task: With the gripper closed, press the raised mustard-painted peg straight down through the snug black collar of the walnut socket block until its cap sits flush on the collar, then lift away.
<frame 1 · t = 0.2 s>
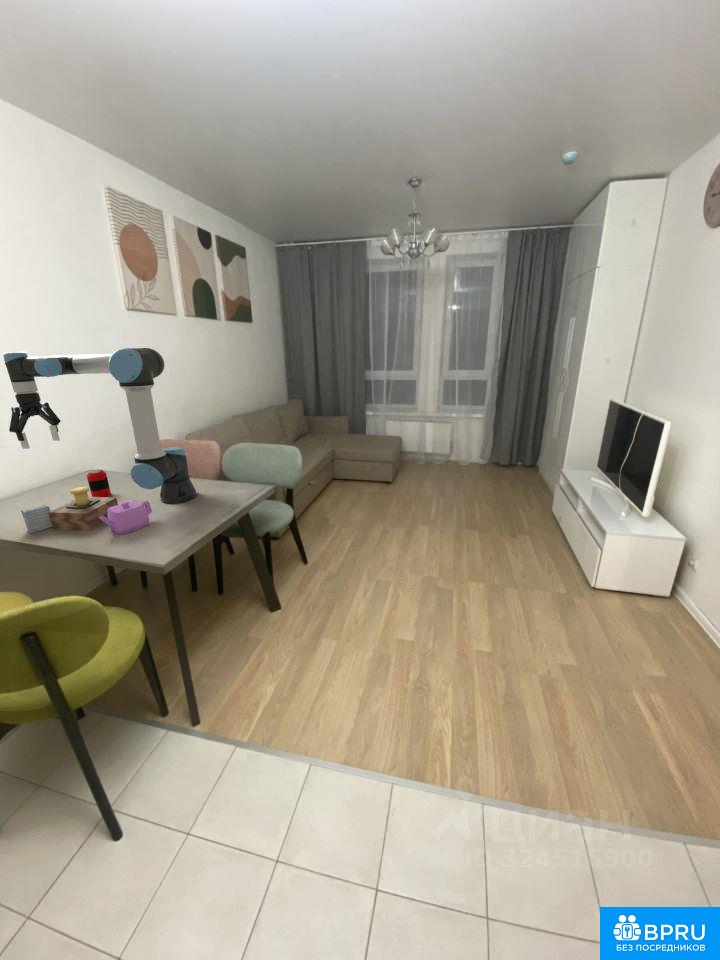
hand: (41, 444, 166), 28 cm above the table, fingers open, 13 cm apart
soda can: (101, 496, 186), on the table
teapot: (129, 528, 153), on the table
medicine box: (41, 529, 154), on the table
peg: (82, 499, 156), point 9 cm above the table, slide at 5.0 cm
socket: (87, 520, 159), on the table
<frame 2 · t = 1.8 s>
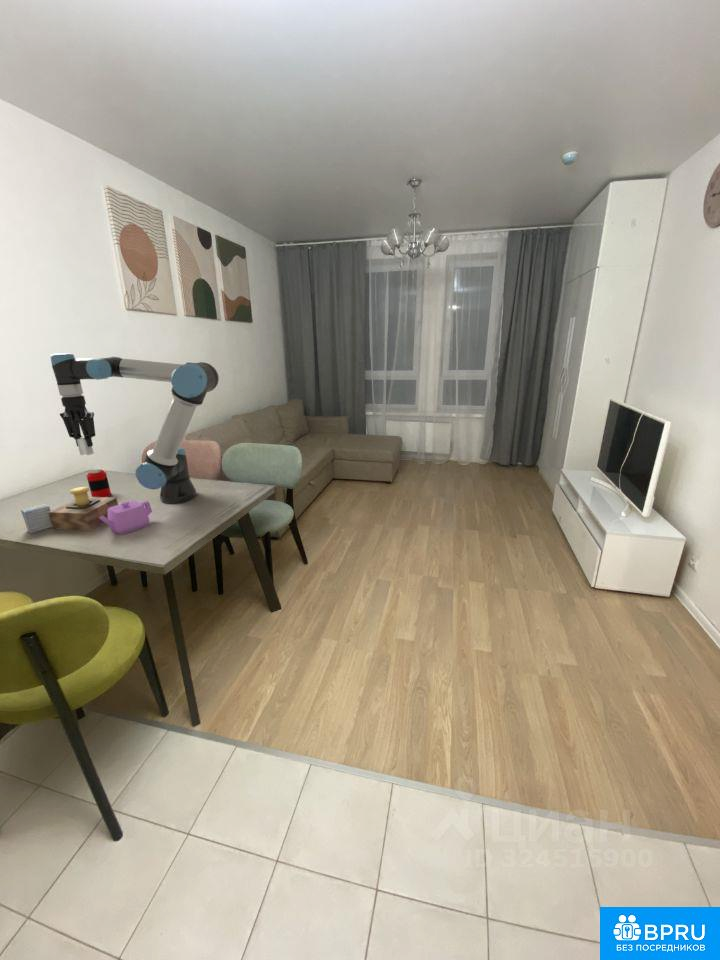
hand: (87, 454, 162), 24 cm above the table, fingers open, 2 cm apart
nothing on the table moved.
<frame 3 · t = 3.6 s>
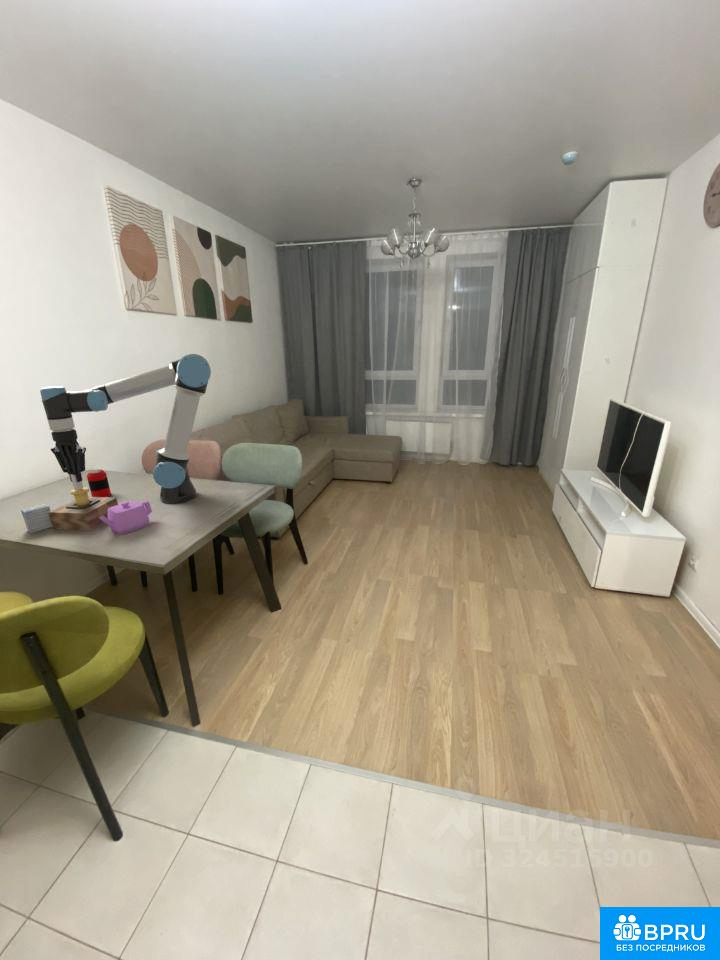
hand: (79, 489, 155), 13 cm above the table, fingers closed
peg: (82, 500, 156), point 9 cm above the table, slide at 4.7 cm, touching gripper
everything else where it was.
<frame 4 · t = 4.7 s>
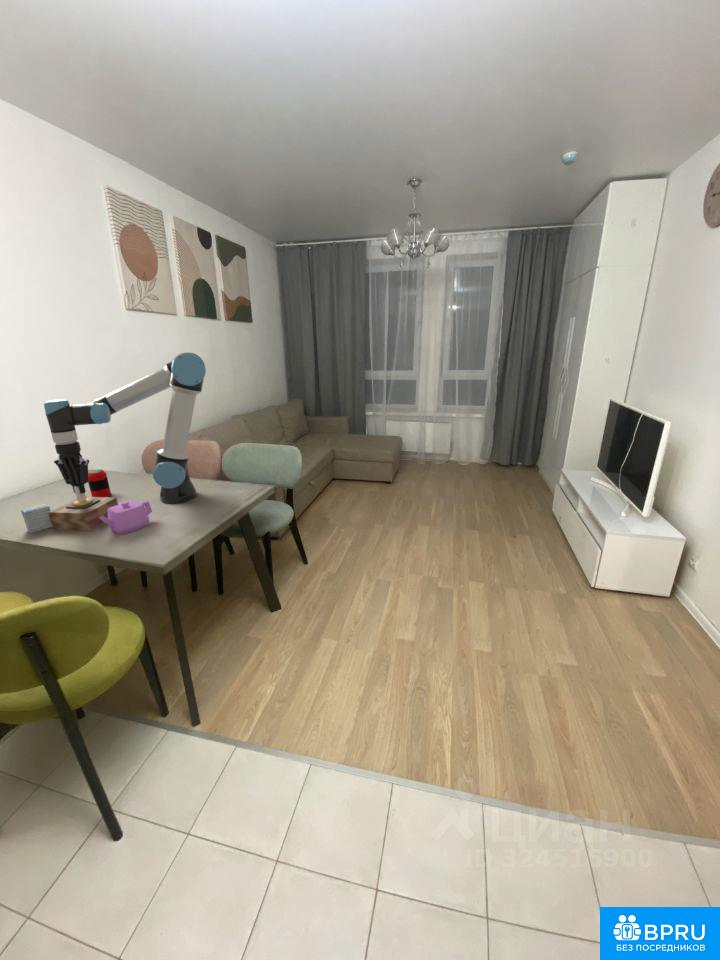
hand: (82, 500, 156), 9 cm above the table, fingers closed
peg: (85, 511, 158), point 4 cm above the table, slide at 0.0 cm, touching gripper
everything else where it was.
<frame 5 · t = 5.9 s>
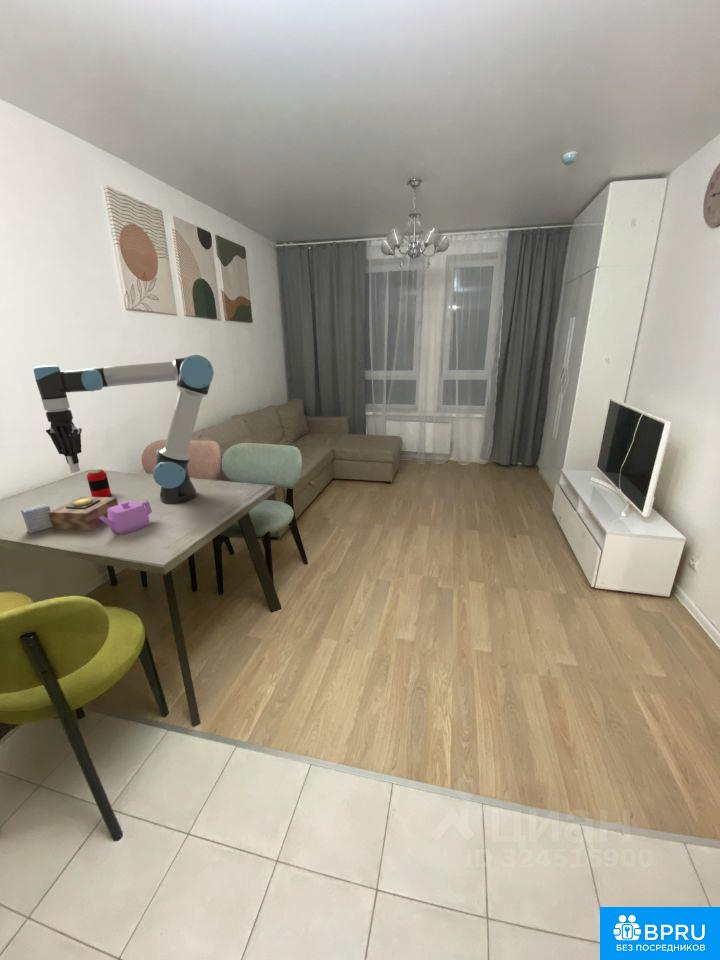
hand: (75, 471, 153), 21 cm above the table, fingers closed
peg: (85, 511, 158), point 4 cm above the table, slide at 0.0 cm
everything else where it was.
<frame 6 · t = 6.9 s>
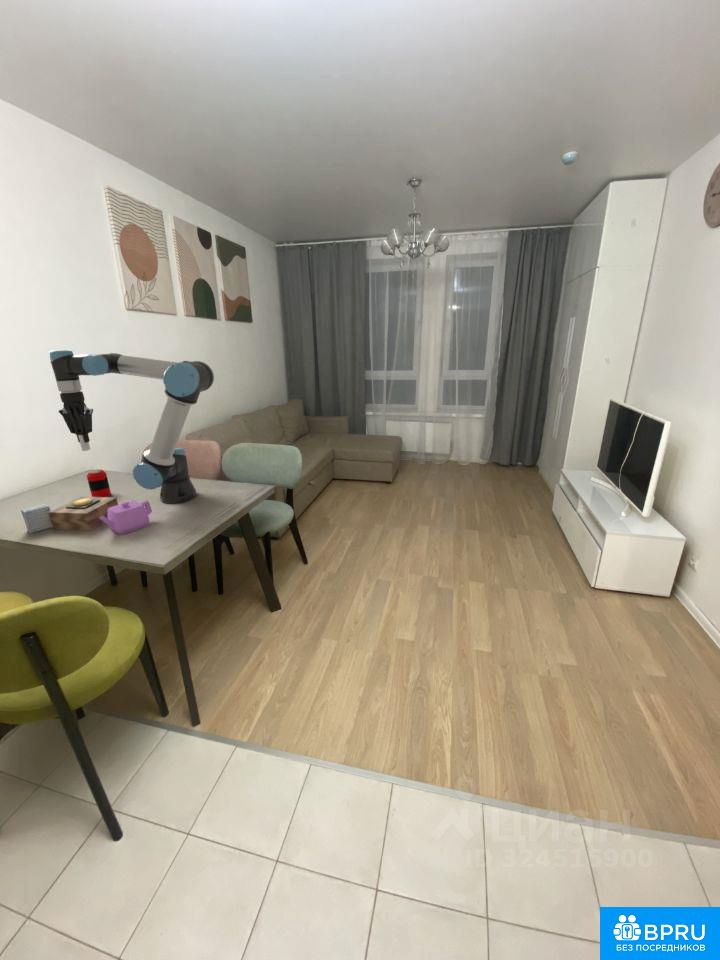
hand: (86, 450, 163), 26 cm above the table, fingers closed
nothing on the table moved.
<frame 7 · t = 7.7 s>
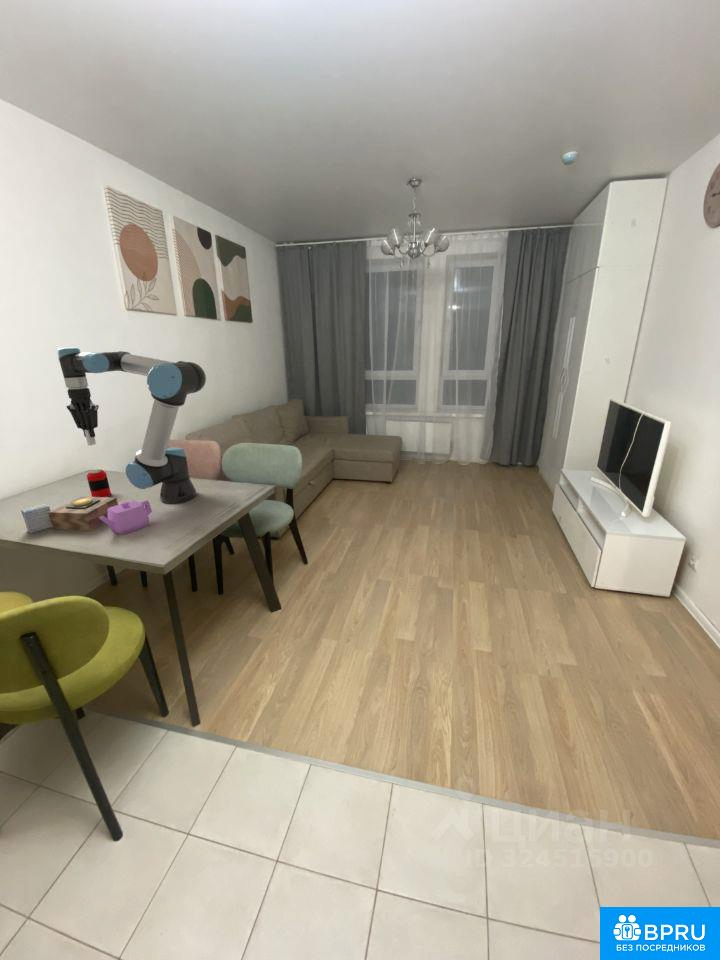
hand: (92, 444, 169), 26 cm above the table, fingers closed
nothing on the table moved.
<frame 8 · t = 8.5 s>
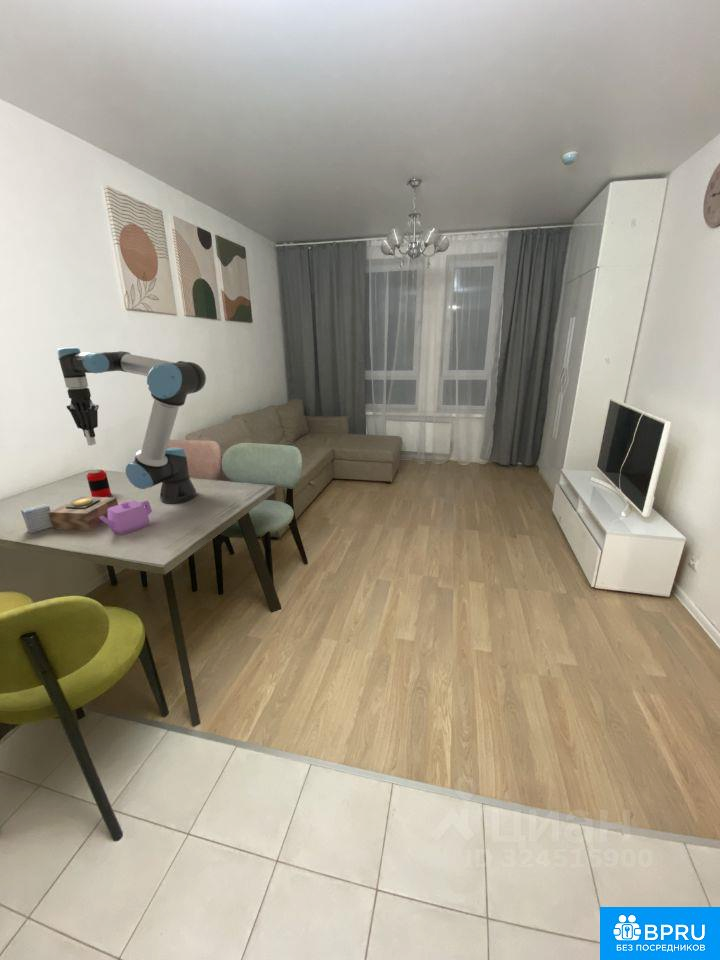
hand: (92, 444, 169), 26 cm above the table, fingers closed
nothing on the table moved.
at the end: peg slide at 0.0 cm; peg resting in socket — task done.
